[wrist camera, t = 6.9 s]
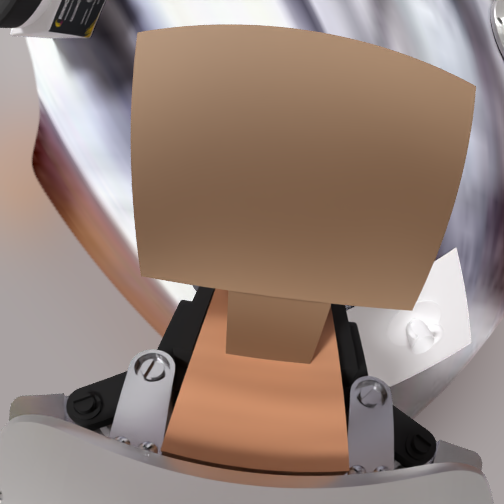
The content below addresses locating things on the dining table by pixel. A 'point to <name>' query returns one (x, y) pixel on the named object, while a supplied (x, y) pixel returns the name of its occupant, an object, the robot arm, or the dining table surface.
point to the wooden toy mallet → (285, 219)
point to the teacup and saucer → (417, 326)
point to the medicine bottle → (50, 17)
